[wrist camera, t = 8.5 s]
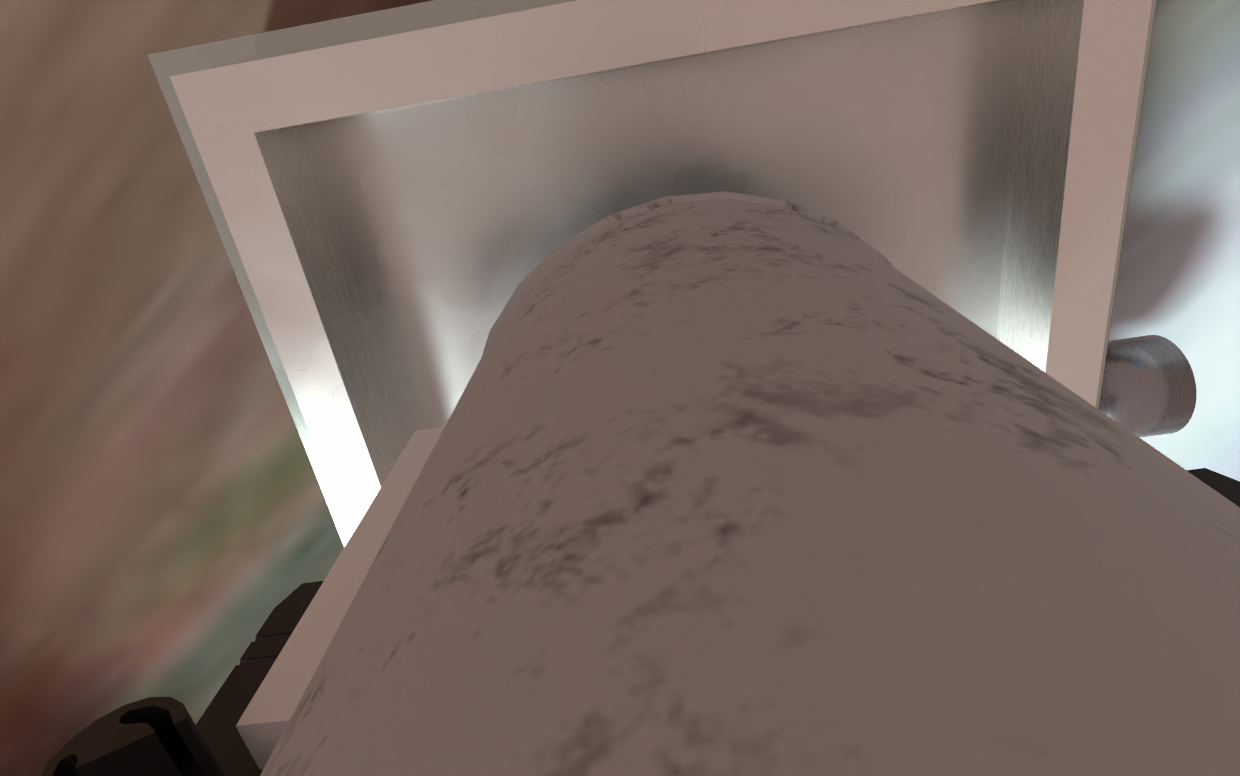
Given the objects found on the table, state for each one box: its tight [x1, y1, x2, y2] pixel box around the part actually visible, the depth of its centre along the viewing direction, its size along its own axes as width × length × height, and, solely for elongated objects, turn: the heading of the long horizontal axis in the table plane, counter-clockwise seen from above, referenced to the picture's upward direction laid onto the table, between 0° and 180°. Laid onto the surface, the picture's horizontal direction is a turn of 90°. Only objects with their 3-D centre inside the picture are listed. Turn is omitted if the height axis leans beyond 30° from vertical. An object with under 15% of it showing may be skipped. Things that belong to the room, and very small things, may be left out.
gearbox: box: [147, 0, 1196, 547], centre depth 19 cm, size 25×18×8 cm
